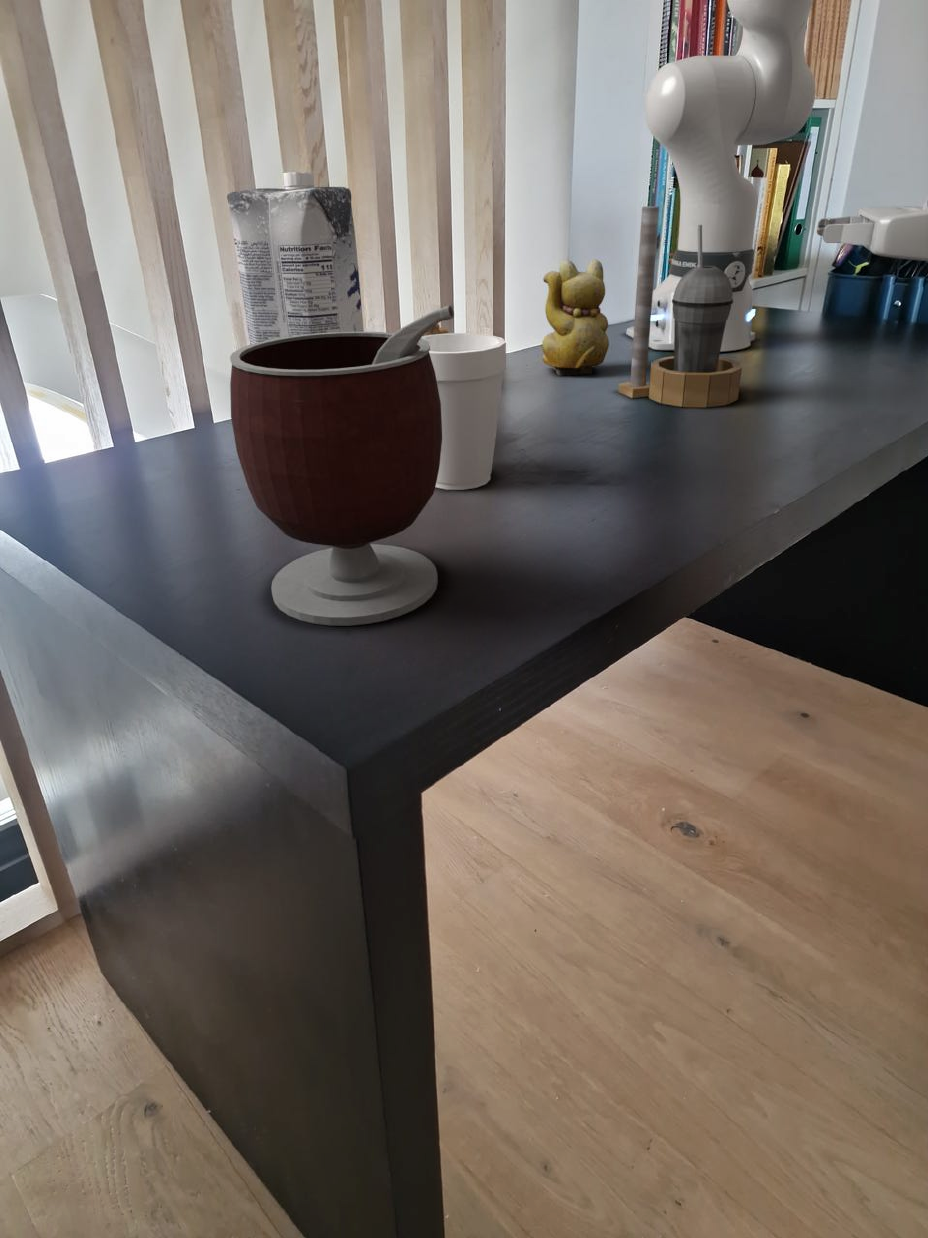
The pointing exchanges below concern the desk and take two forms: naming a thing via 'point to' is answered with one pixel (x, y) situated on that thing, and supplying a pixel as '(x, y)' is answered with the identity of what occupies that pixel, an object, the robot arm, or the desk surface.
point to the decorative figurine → (575, 319)
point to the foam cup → (467, 404)
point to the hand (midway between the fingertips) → (820, 229)
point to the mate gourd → (342, 463)
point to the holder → (663, 378)
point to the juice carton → (296, 259)
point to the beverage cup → (700, 316)
